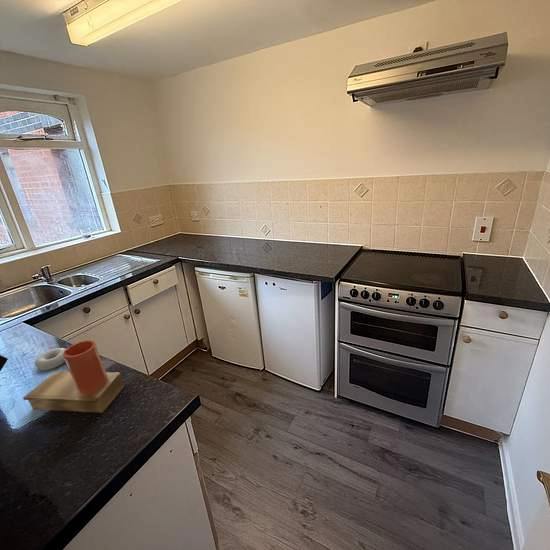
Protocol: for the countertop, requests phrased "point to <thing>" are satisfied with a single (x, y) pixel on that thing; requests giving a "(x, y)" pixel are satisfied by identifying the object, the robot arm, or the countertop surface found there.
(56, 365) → the donut
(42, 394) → the wooden block
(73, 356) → the cup
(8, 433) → the countertop surface
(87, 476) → the countertop surface
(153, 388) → the countertop surface
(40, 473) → the countertop surface
